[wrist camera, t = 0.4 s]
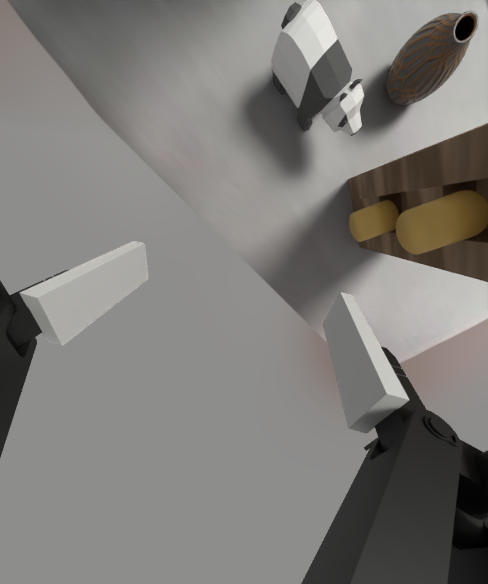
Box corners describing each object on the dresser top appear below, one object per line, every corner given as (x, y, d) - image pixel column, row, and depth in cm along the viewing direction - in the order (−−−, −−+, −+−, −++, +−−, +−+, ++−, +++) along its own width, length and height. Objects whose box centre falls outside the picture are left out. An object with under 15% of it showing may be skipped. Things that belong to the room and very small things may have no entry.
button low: (351, 240, 28) (367, 243, 24) (346, 212, 27) (362, 211, 23) (380, 230, 28) (400, 231, 24) (376, 201, 26) (397, 198, 23)
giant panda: (264, 76, 28) (270, 10, 19) (295, 39, 27) (317, -51, 18) (322, 162, 32) (349, 141, 23) (351, 134, 30) (394, 99, 21)
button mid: (397, 250, 19) (432, 258, 16) (393, 210, 18) (430, 208, 14) (441, 235, 19) (488, 240, 15) (440, 193, 17) (491, 186, 14)
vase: (409, 120, 29) (471, 82, 21) (368, 104, 29) (415, 59, 21) (439, 60, 27) (521, -8, 19) (394, 41, 26) (459, -38, 18)
